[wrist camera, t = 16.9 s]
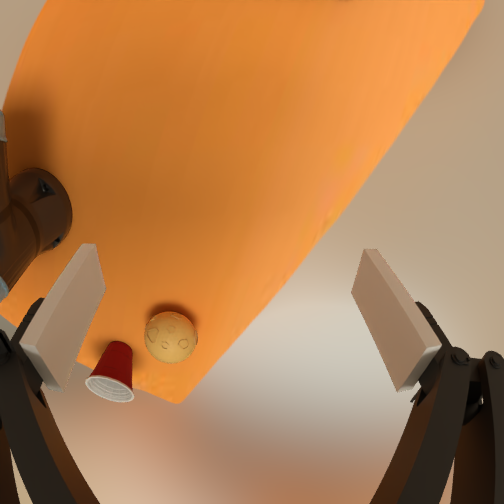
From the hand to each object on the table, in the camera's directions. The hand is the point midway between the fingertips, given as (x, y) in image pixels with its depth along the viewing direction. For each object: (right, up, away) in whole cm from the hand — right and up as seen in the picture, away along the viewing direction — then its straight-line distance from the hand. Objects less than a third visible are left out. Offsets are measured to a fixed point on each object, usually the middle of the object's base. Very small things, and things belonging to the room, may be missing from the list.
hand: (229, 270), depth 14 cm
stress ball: (-14, -12, +44) cm, 48 cm away
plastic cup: (-29, -21, +48) cm, 60 cm away
